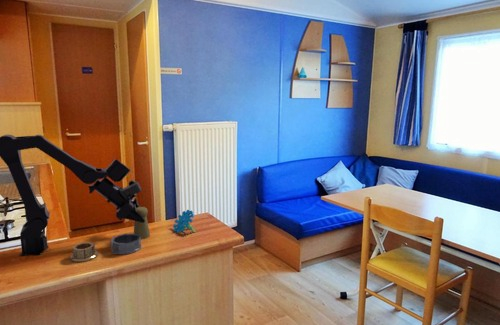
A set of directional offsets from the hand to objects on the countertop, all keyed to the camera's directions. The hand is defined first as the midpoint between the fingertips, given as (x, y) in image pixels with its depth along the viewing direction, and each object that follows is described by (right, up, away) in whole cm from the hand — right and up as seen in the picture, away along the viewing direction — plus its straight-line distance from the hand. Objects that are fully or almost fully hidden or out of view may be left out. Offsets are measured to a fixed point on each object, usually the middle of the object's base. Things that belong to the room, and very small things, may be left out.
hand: (144, 218), depth 129 cm
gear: (+14, -6, +7) cm, 16 cm away
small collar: (-14, -10, -16) cm, 24 cm away
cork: (-1, -7, +1) cm, 7 cm away
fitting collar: (-3, -8, -10) cm, 14 cm away
